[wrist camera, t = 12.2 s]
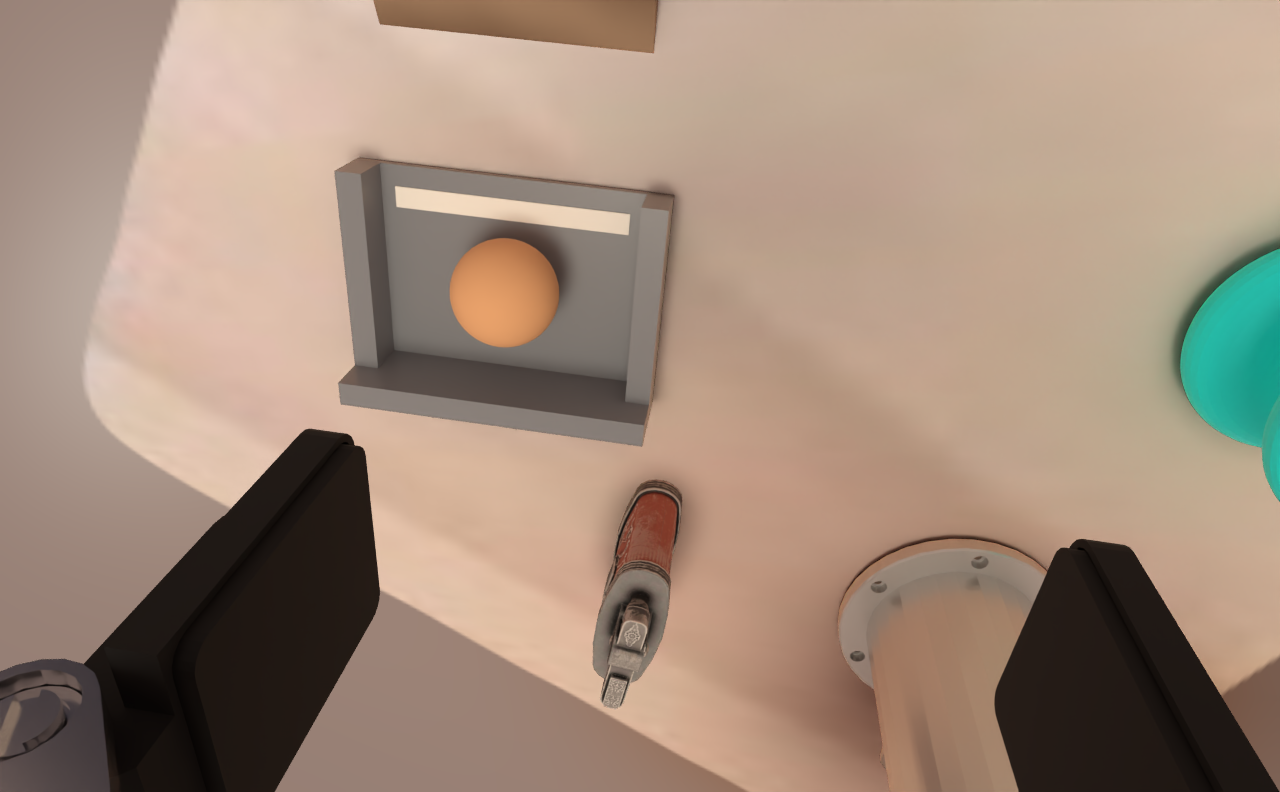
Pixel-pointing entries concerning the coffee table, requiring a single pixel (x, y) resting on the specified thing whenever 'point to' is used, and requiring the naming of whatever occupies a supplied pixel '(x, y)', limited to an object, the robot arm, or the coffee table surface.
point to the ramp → (534, 20)
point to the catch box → (488, 375)
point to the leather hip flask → (637, 589)
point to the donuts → (1240, 360)
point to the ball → (504, 292)
